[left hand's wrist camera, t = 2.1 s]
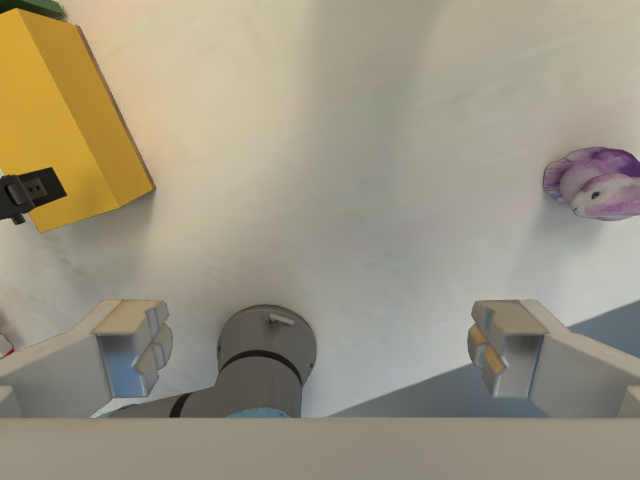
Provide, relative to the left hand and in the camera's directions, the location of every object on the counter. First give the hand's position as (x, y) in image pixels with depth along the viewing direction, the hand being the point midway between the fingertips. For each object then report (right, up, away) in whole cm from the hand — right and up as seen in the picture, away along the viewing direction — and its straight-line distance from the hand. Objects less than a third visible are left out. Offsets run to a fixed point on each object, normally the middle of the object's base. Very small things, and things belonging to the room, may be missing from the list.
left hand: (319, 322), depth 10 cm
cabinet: (-30, +17, +38) cm, 51 cm away
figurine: (+34, +10, +41) cm, 54 cm away
